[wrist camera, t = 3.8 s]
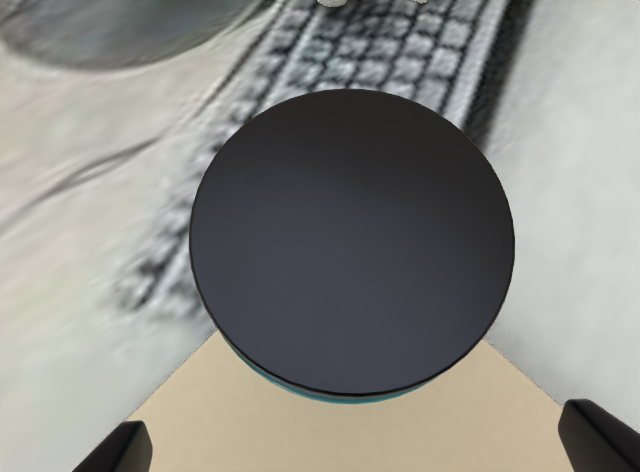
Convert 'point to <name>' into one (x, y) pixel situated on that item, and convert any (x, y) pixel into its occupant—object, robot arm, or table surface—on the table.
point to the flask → (351, 245)
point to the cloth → (351, 422)
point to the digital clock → (339, 0)
